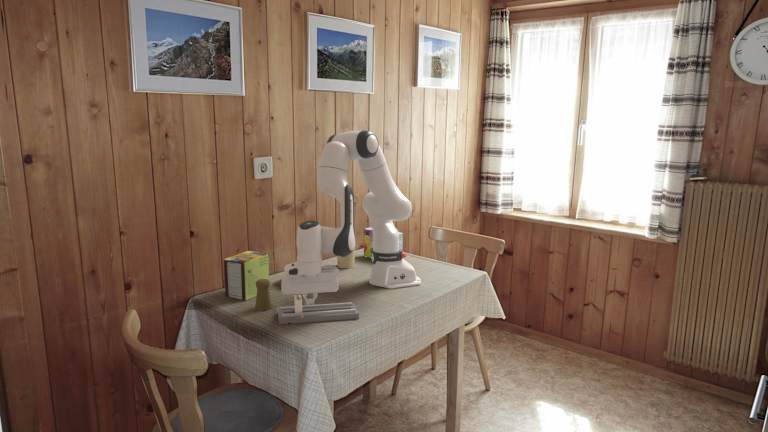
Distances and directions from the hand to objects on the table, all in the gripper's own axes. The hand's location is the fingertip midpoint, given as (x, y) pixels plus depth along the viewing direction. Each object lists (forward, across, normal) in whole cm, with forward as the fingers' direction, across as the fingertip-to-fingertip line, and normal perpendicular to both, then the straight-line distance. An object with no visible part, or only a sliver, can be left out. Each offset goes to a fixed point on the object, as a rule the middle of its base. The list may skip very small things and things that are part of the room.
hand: (310, 304), depth 193 cm
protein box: (+5, +22, -30) cm, 38 cm away
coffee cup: (+5, -22, -61) cm, 65 cm away
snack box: (+5, -42, -70) cm, 82 cm away
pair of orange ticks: (+2, +3, 0) cm, 4 cm away
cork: (+5, +16, -12) cm, 21 cm away
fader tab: (+2, +4, 0) cm, 5 cm away
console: (+4, -3, 0) cm, 5 cm away
